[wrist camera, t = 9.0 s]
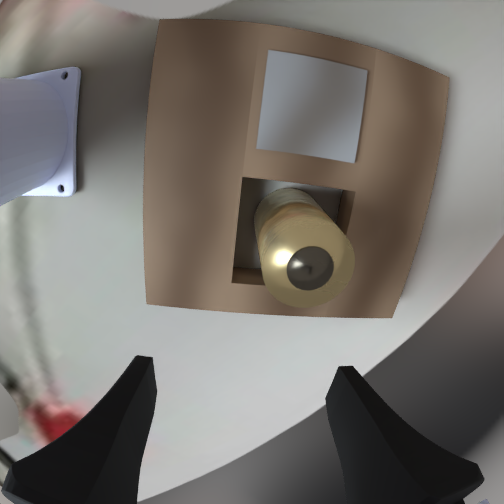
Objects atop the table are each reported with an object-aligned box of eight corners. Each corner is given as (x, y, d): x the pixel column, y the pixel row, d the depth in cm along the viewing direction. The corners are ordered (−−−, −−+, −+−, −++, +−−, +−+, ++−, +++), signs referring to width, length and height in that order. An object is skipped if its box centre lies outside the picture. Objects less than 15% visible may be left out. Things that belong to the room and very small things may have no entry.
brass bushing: (252, 251, 19) (259, 309, 13) (256, 186, 17) (266, 221, 12) (315, 252, 19) (345, 309, 14) (324, 190, 18) (364, 226, 12)
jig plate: (153, 287, 20) (145, 306, 18) (167, 29, 13) (158, 17, 11) (381, 302, 21) (393, 320, 19) (431, 79, 15) (452, 77, 13)
